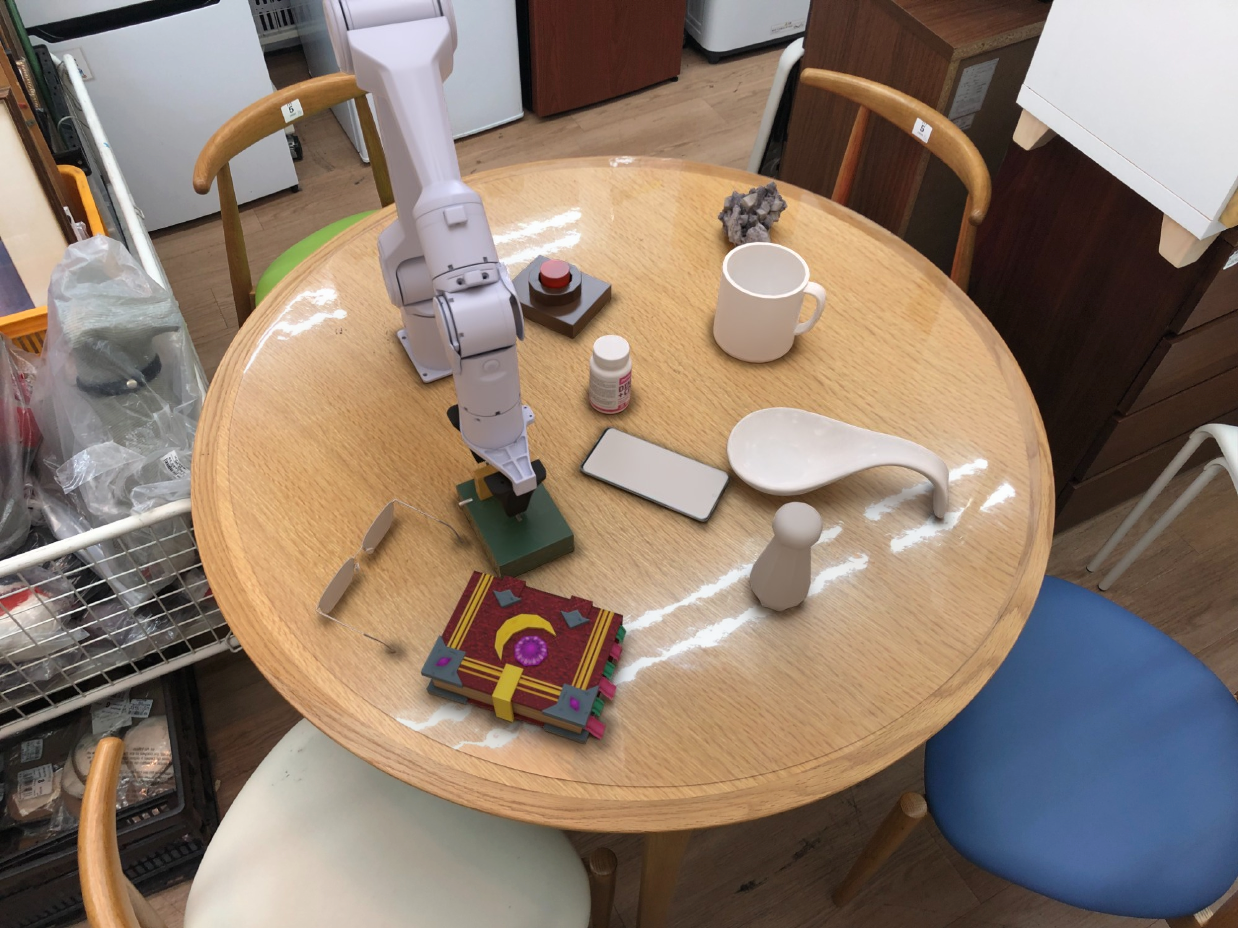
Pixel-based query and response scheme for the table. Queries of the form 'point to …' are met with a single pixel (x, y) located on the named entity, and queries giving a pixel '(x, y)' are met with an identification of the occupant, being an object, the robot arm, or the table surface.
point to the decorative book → (528, 655)
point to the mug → (763, 301)
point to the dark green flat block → (517, 530)
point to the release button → (555, 274)
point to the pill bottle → (610, 374)
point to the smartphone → (656, 473)
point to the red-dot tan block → (479, 481)
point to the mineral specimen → (751, 214)
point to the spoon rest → (821, 453)
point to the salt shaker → (787, 557)
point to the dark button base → (560, 298)
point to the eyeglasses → (347, 569)
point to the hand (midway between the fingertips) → (500, 484)
